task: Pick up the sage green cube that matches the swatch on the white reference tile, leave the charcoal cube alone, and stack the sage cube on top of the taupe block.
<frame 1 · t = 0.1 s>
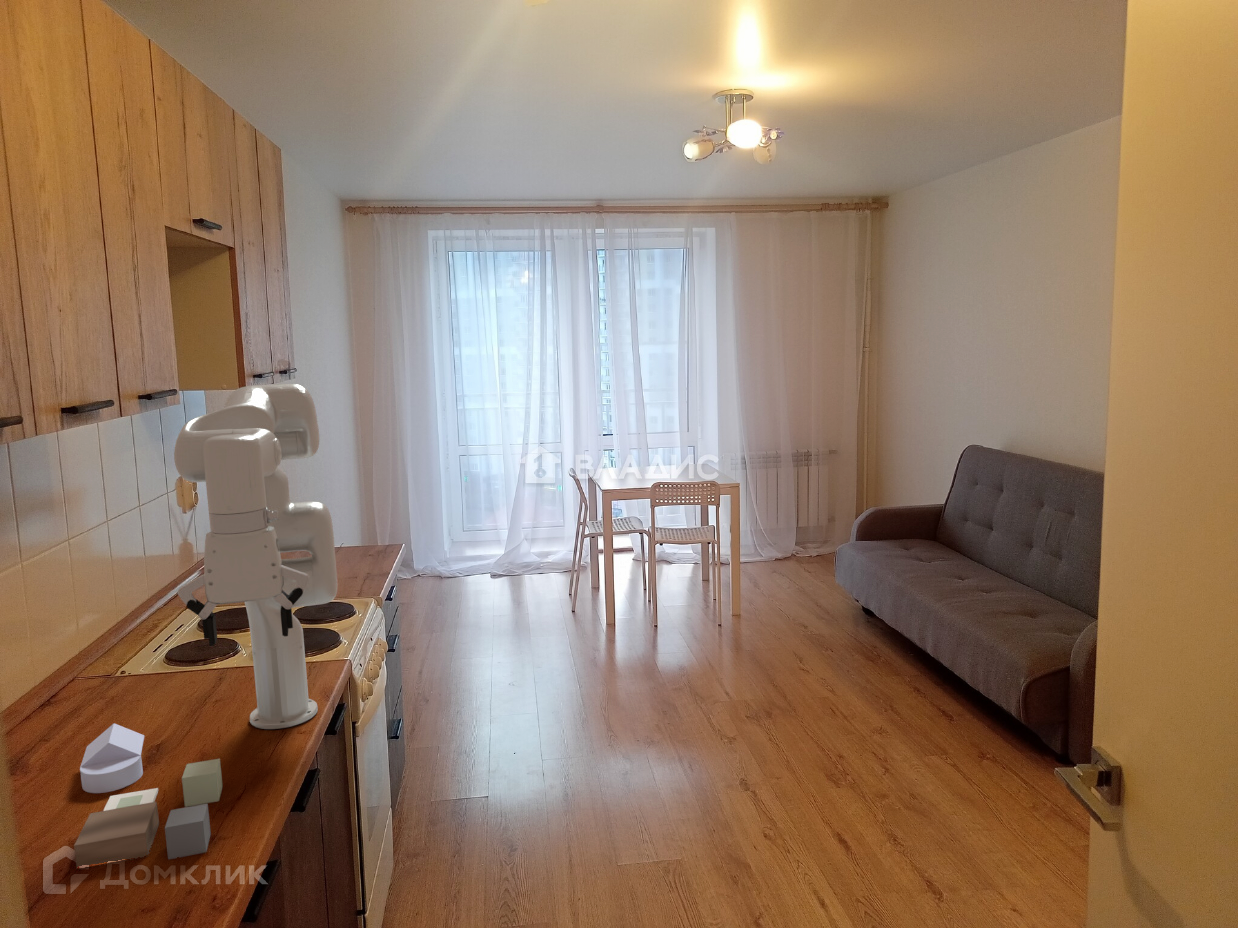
hand: (250, 638, 124), 31 cm above the counter, tool pointing down, fingers open, 9 cm apart
wedge on round base: (114, 775, 149), on the counter
reference tile: (130, 805, 138), on the counter
taupe block: (120, 847, 127), on the counter
sage cube: (204, 796, 141), on the counter
charcoal cube: (190, 846, 127), on the counter
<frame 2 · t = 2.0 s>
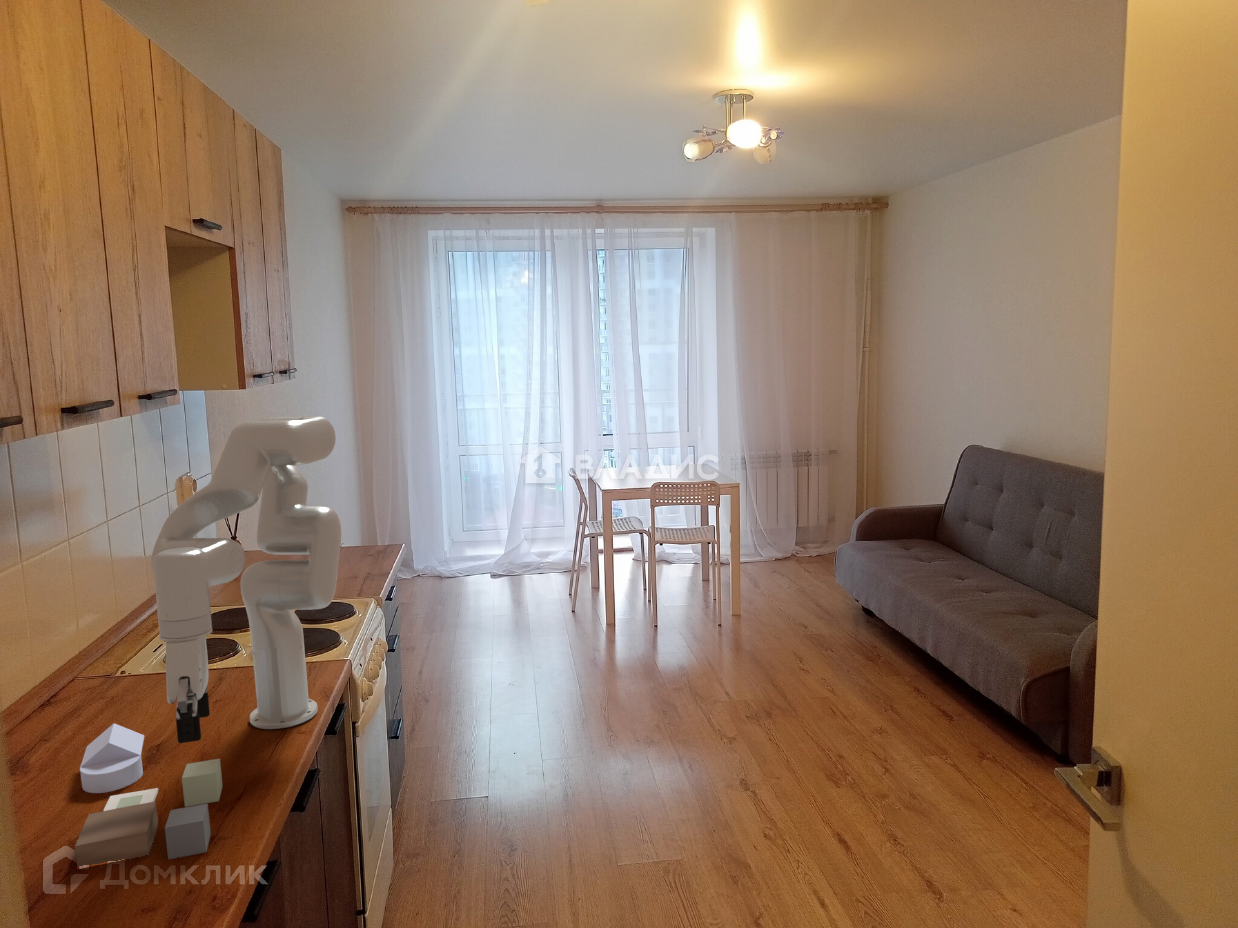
hand: (194, 728, 138), 12 cm above the counter, tool pointing down, fingers open, 9 cm apart
nothing on the counter moved.
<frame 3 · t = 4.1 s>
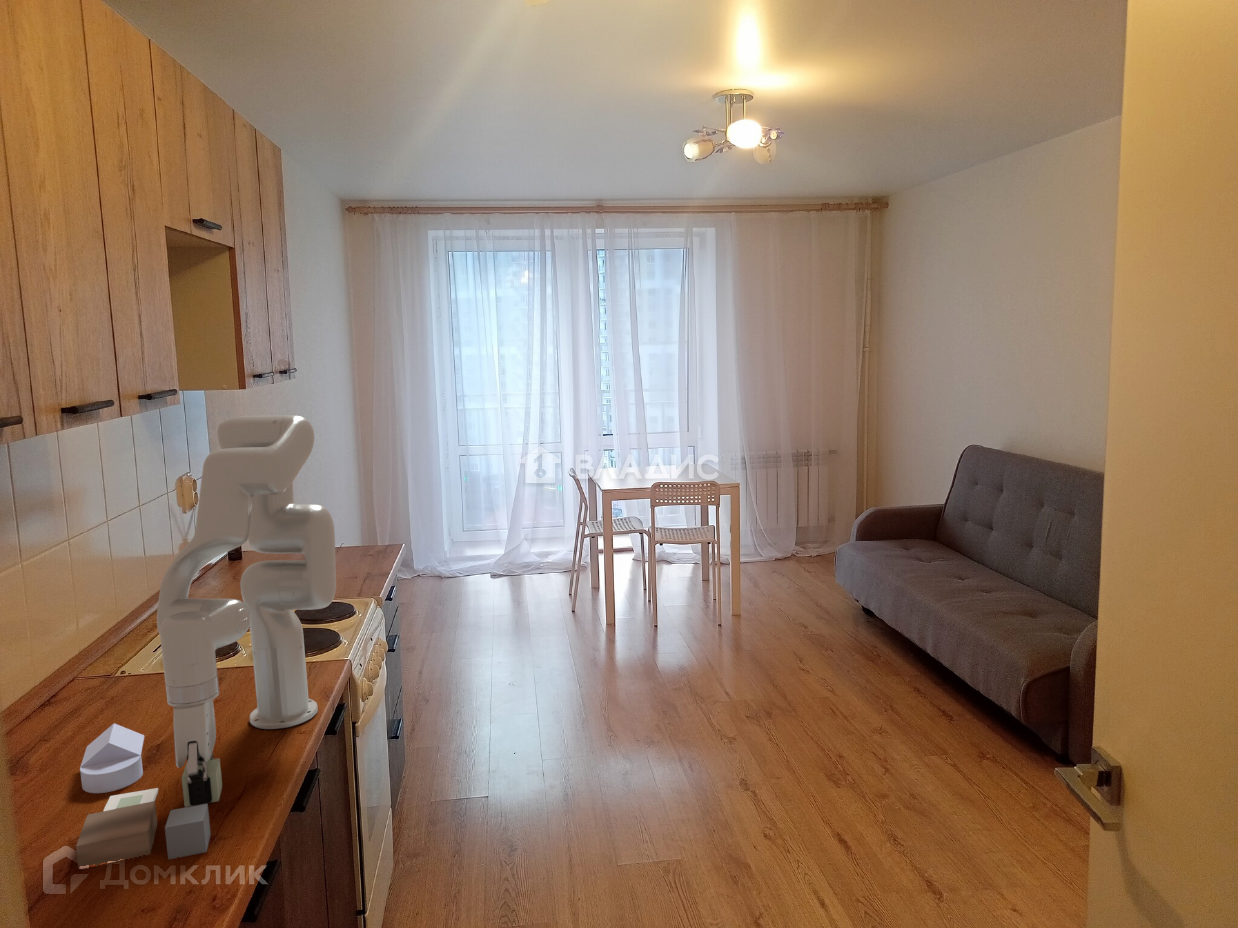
hand: (203, 793, 141), 0 cm above the counter, tool pointing down, fingers closed on sage cube, 4 cm apart
sage cube: (203, 796, 141), on the counter, touching gripper
everything else where it was.
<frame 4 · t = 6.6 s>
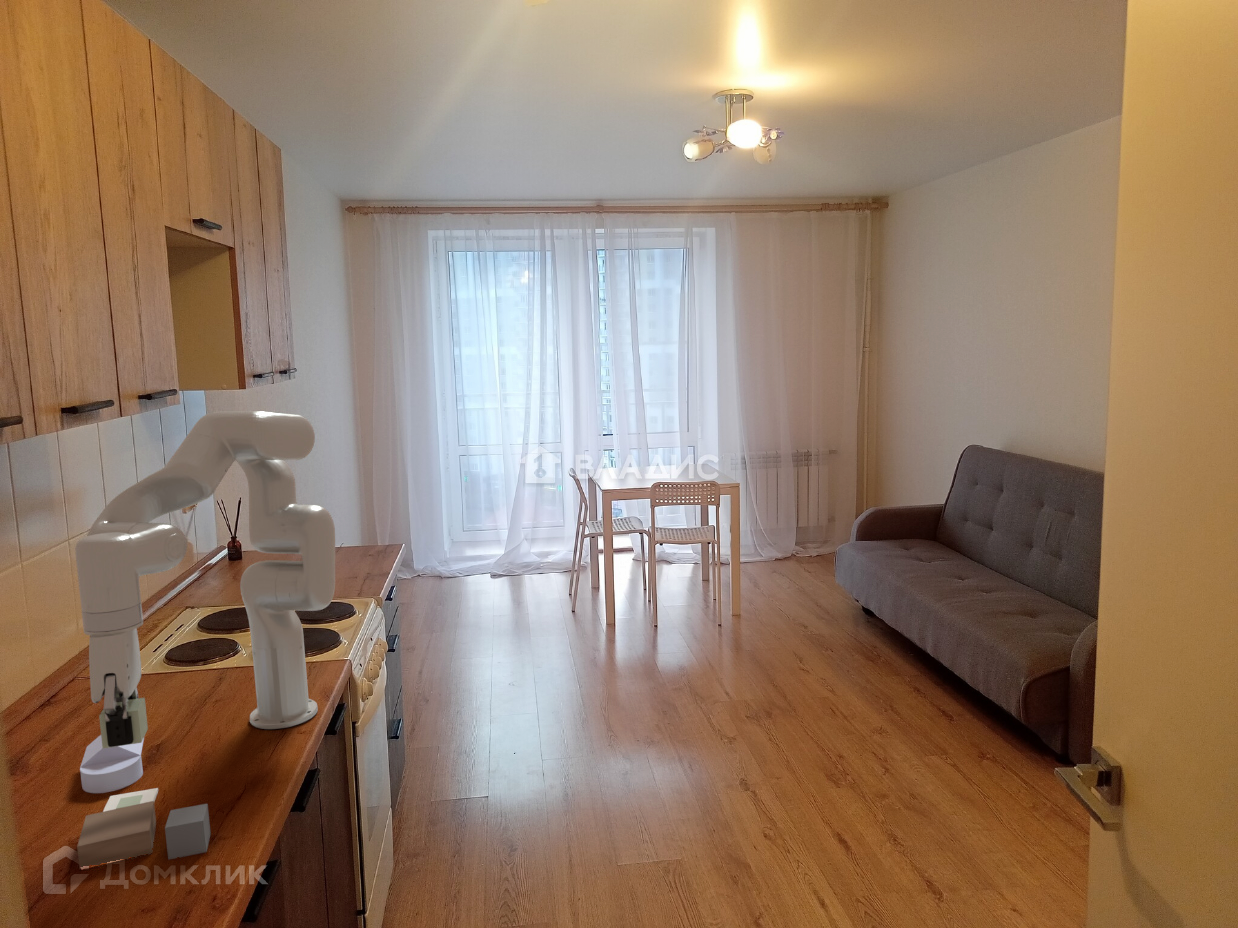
hand: (125, 735, 127), 16 cm above the counter, tool pointing down, fingers closed on sage cube, 4 cm apart
sage cube: (125, 738, 127), point 16 cm above the counter, touching gripper
everything else where it was.
when the fingers open (6 cm above the counter, at t = 9.4 s): sage cube drops 2 cm, resting on taupe block.
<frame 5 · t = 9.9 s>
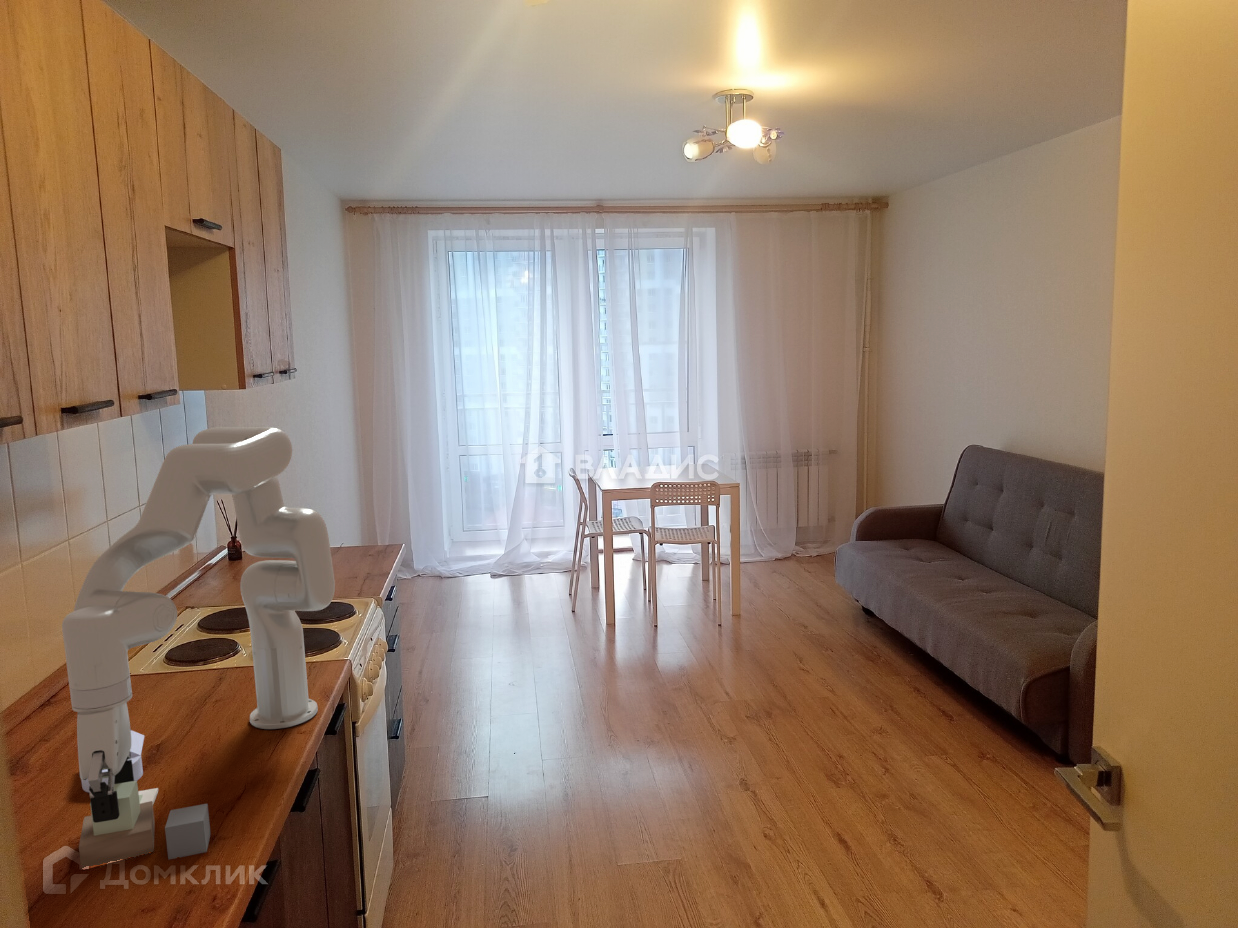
hand: (114, 802, 126), 7 cm above the counter, tool pointing down, fingers open, 9 cm apart
taupe block: (120, 847, 127), on the counter, touching sage cube
sage cube: (117, 823, 127), point 4 cm above the counter, touching taupe block
everything else where it was.
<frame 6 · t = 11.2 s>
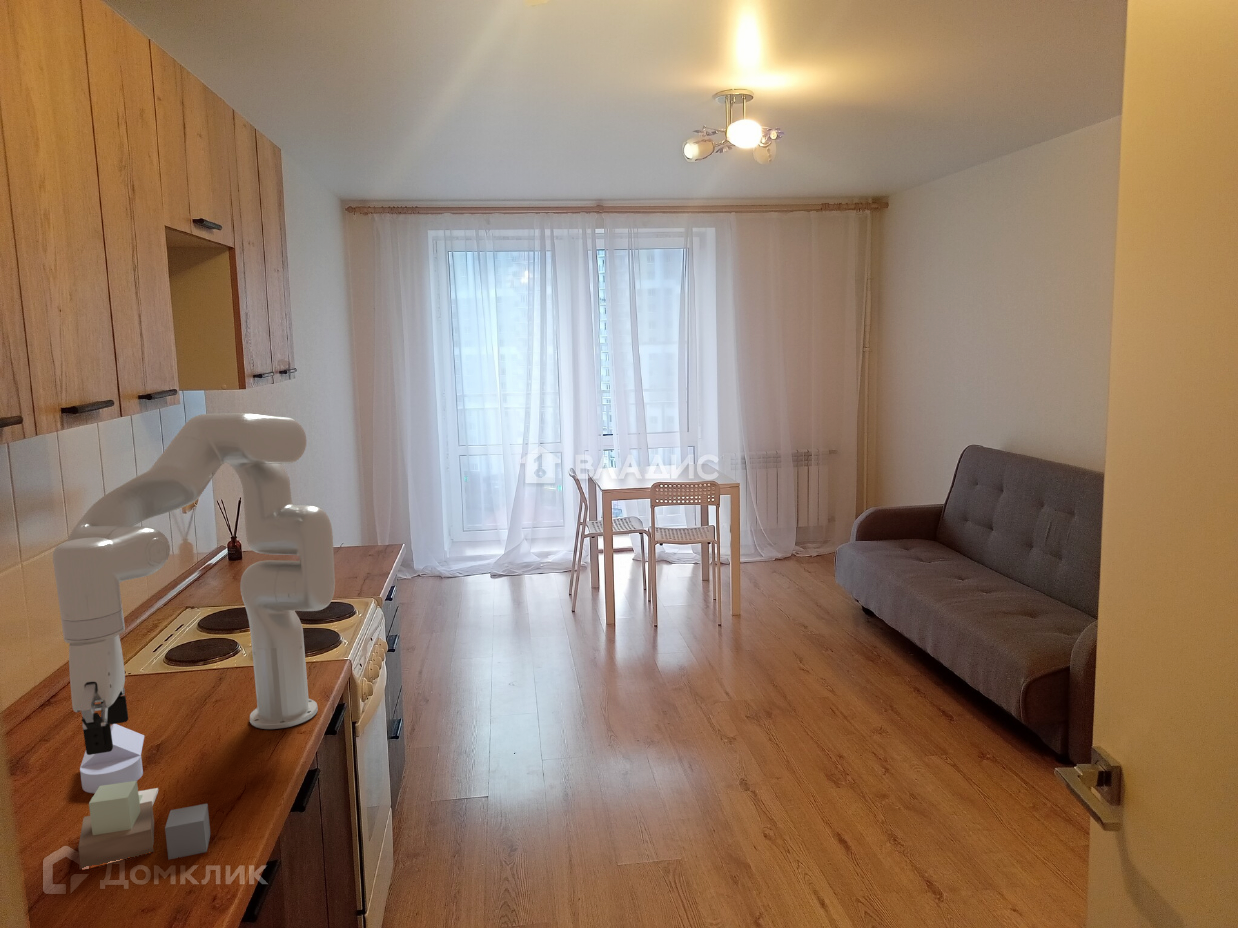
hand: (108, 736, 125), 17 cm above the counter, tool pointing down, fingers open, 9 cm apart
nothing on the counter moved.
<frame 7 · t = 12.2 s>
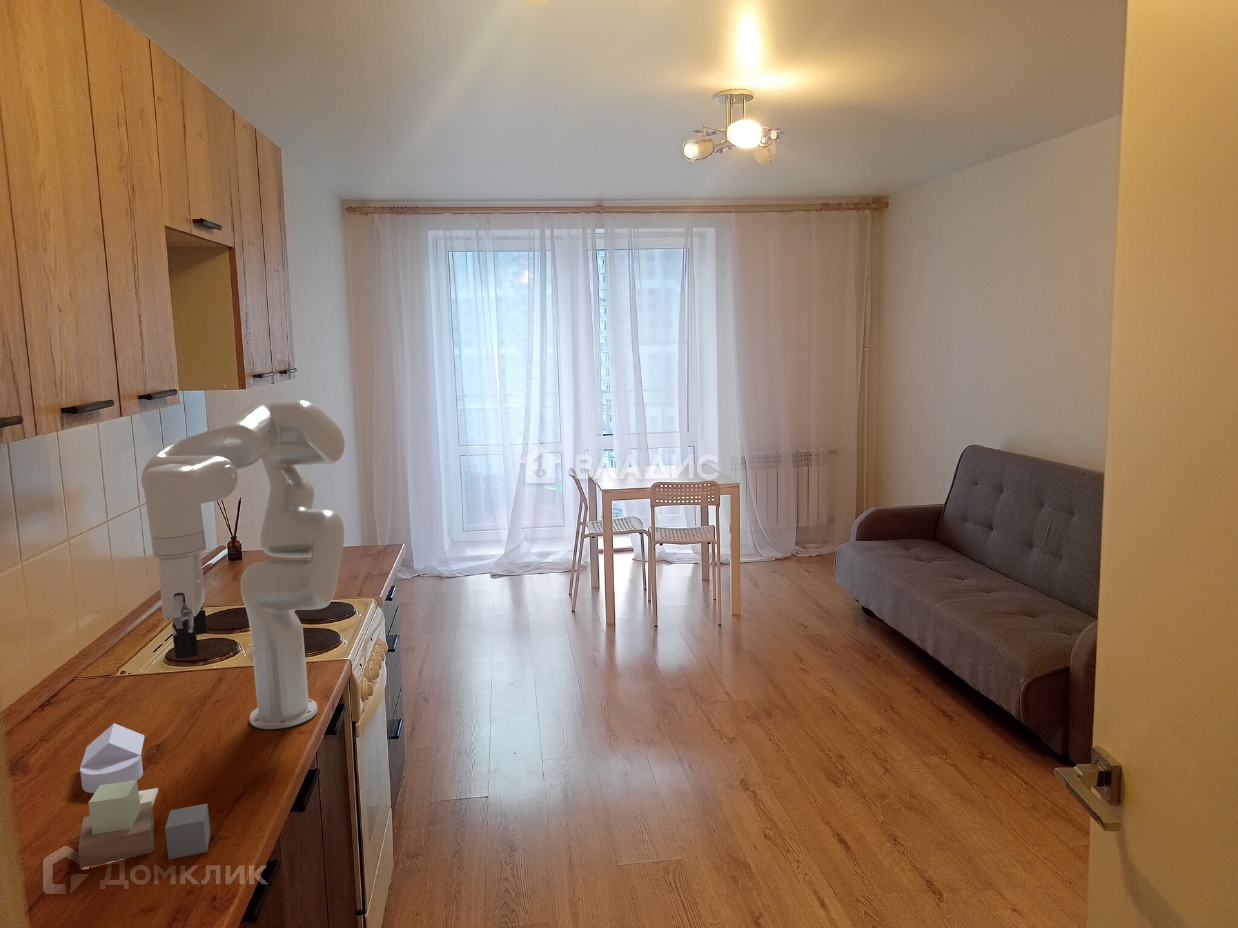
hand: (192, 645, 138), 25 cm above the counter, tool pointing down, fingers open, 9 cm apart
taupe block: (119, 848, 127), on the counter
sage cube: (117, 822, 127), point 4 cm above the counter
everything else where it was.
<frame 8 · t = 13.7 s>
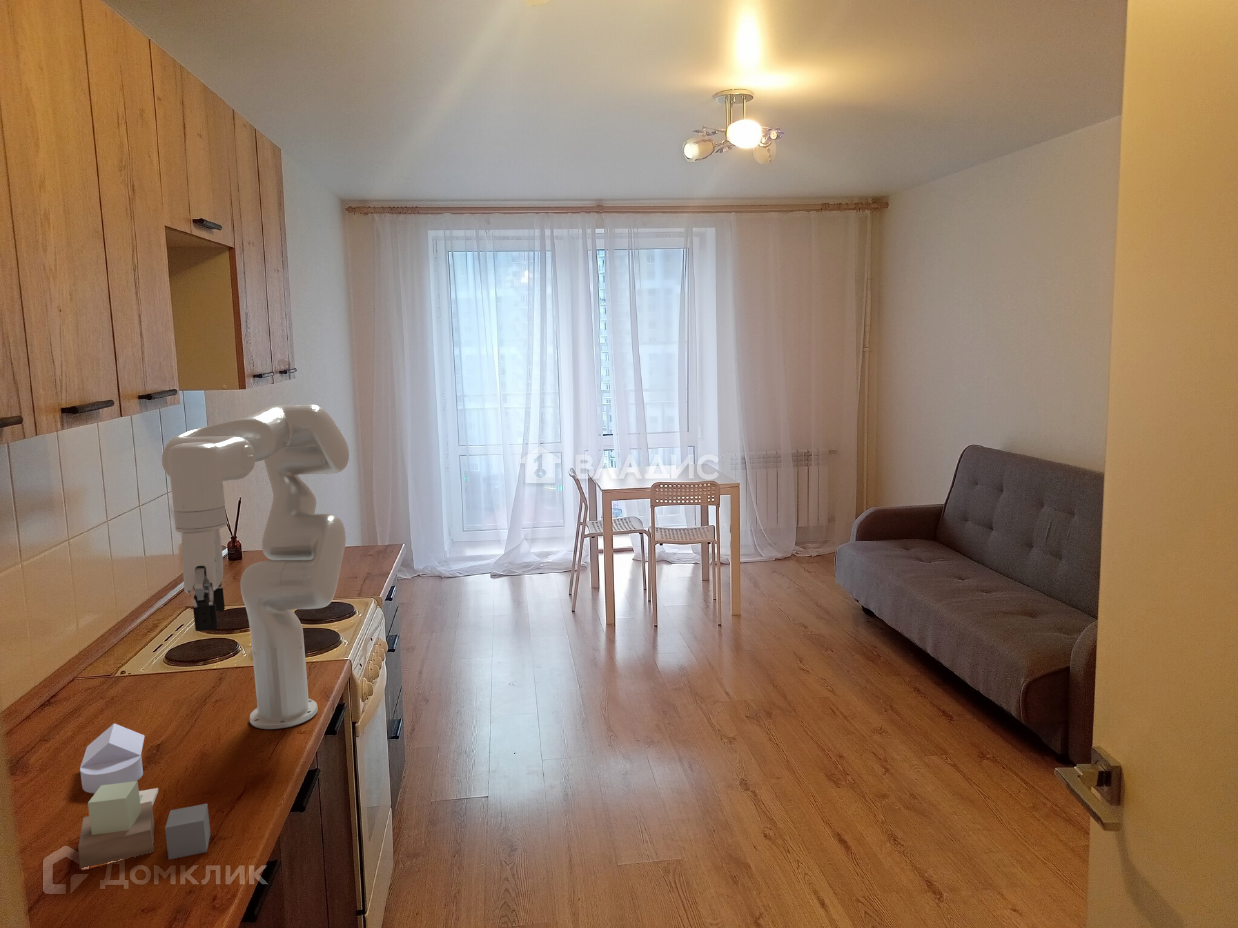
hand: (210, 620, 141), 28 cm above the counter, tool pointing down, fingers open, 9 cm apart
taupe block: (119, 848, 127), on the counter, touching sage cube
sage cube: (117, 822, 127), point 4 cm above the counter, touching taupe block
everything else where it was.
at the end: sage cube 0.2 cm off-centre on the taupe block, point 4.0 cm above the taupe block's base; sage cube tilted 0°; charcoal cube moved 0.1 cm from its start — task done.
